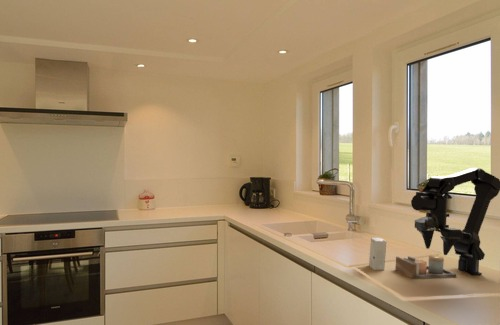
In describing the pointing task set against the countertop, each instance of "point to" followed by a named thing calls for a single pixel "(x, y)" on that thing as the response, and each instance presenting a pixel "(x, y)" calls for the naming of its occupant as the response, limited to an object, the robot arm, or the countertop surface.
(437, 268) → the slate jar
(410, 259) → the pusher
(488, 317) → the countertop surface
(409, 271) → the lane
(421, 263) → the jar
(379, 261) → the skincare box
